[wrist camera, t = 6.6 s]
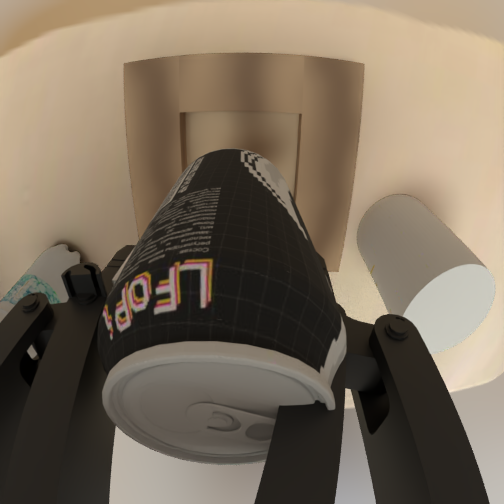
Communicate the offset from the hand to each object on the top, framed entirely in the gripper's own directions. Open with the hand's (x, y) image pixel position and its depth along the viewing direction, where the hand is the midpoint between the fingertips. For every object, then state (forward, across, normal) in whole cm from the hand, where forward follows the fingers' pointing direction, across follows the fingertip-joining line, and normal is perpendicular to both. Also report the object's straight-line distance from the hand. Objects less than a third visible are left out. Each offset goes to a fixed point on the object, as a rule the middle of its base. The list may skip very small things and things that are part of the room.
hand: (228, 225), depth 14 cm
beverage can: (+2, 0, 0) cm, 2 cm away
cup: (+13, +15, -6) cm, 20 cm away
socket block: (+13, 0, 0) cm, 13 cm away
